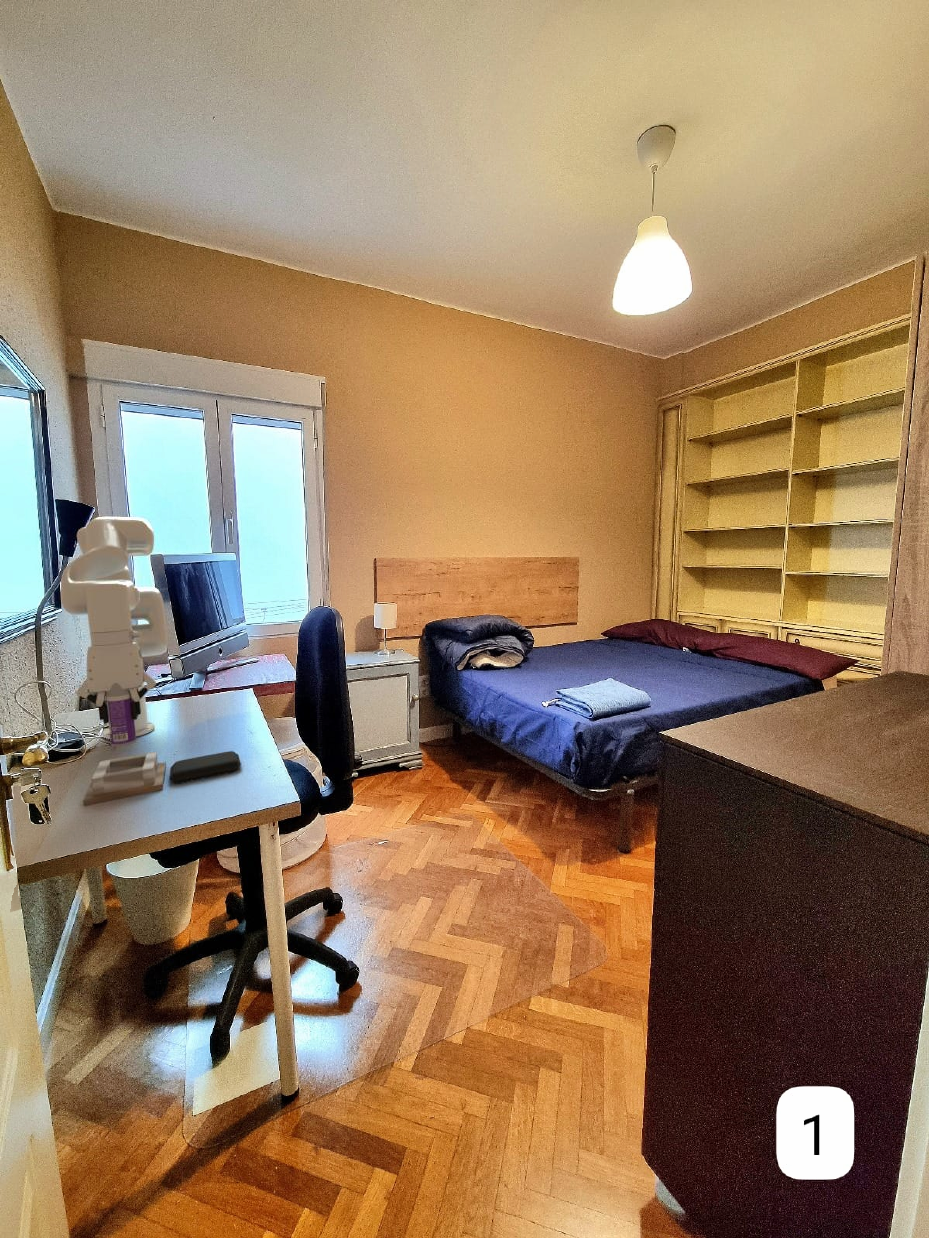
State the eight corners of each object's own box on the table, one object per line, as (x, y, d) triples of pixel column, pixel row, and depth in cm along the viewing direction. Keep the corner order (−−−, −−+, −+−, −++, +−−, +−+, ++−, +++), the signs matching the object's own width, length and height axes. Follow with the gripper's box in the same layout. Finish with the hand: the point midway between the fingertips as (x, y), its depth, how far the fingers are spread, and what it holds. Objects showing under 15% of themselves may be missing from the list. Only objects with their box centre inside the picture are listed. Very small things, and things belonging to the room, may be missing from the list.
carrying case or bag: (238, 757, 128) (171, 770, 121) (237, 746, 127) (169, 758, 120) (242, 772, 118) (170, 787, 111) (241, 760, 118) (168, 774, 111)
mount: (95, 779, 116) (93, 760, 115) (166, 766, 122) (164, 748, 122) (83, 805, 103) (81, 783, 103) (162, 789, 110) (160, 768, 109)
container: (141, 739, 113) (134, 674, 111) (122, 747, 109) (114, 679, 107) (125, 738, 114) (118, 673, 113) (105, 745, 110) (97, 678, 108)
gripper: (159, 633, 116) (166, 709, 118) (67, 640, 108) (77, 722, 110) (156, 637, 109) (164, 718, 111) (58, 645, 102) (69, 732, 104)
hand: (121, 719), depth 111 cm, fingers closed on container, 4 cm apart
